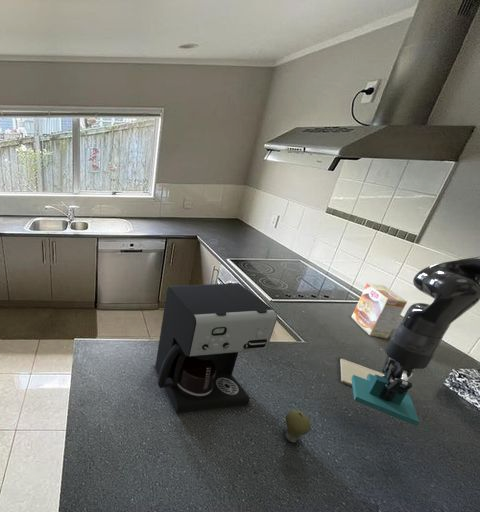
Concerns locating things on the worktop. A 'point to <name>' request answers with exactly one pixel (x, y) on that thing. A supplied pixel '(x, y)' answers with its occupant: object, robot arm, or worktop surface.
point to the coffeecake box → (378, 310)
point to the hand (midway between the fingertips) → (384, 394)
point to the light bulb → (296, 425)
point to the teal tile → (370, 396)
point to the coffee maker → (209, 343)
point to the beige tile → (354, 371)
